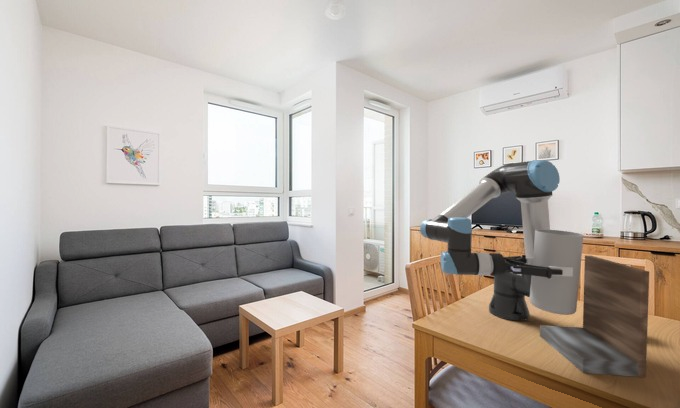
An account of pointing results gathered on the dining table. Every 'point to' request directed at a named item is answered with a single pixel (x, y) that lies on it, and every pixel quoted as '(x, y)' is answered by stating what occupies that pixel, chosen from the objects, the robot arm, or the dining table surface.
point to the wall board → (607, 321)
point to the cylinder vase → (556, 253)
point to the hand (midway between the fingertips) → (558, 266)
